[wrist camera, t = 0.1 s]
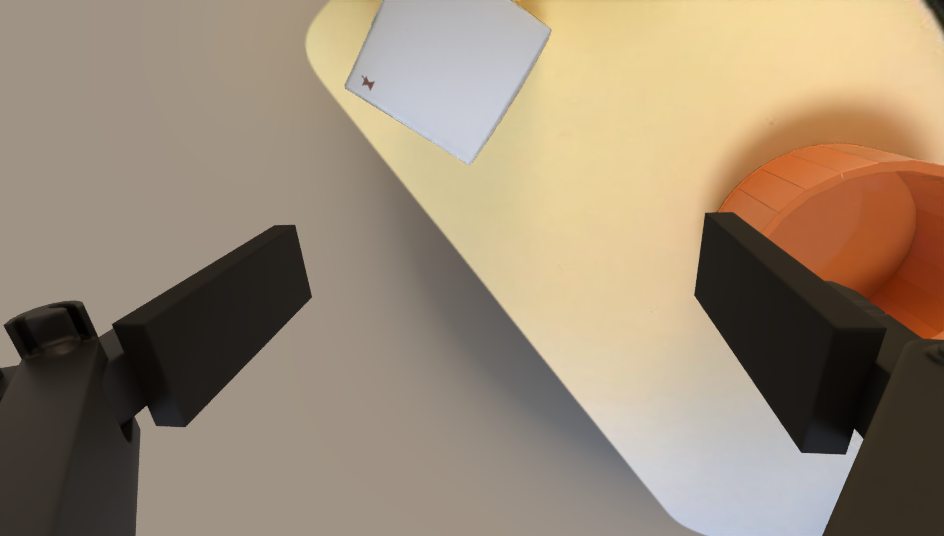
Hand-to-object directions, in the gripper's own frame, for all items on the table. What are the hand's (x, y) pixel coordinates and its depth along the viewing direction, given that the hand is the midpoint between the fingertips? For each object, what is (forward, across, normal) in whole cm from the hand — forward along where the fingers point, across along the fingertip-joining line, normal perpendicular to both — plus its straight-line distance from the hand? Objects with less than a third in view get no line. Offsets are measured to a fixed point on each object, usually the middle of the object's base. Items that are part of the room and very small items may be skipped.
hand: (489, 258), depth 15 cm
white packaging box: (+22, -3, +6) cm, 23 cm away
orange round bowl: (+21, +21, -8) cm, 31 cm away
